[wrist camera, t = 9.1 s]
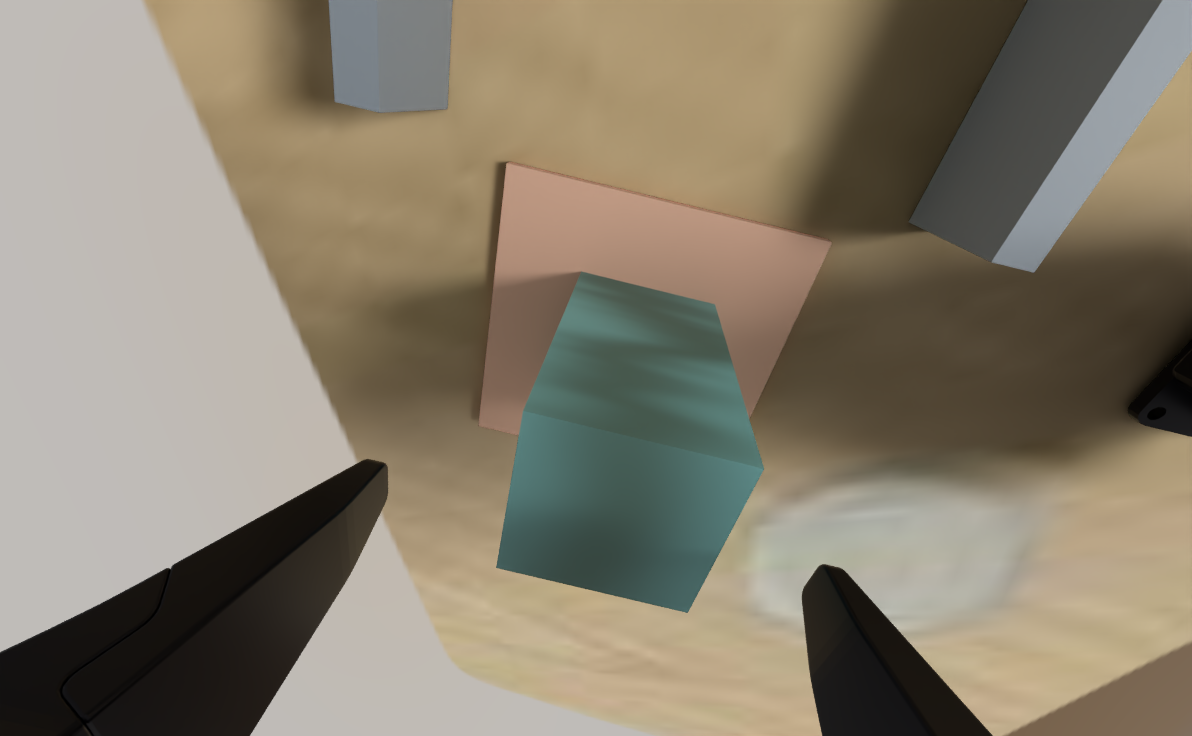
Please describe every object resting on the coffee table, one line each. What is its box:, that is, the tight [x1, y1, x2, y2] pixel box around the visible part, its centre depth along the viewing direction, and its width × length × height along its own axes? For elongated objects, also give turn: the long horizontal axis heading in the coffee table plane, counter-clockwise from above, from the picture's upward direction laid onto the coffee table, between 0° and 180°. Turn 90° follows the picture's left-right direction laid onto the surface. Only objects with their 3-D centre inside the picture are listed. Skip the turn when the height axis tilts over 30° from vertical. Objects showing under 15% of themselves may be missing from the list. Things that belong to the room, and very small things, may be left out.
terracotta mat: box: [478, 162, 832, 435], centre depth 17 cm, size 10×10×1 cm
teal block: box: [496, 271, 764, 613], centre depth 13 cm, size 4×4×8 cm
